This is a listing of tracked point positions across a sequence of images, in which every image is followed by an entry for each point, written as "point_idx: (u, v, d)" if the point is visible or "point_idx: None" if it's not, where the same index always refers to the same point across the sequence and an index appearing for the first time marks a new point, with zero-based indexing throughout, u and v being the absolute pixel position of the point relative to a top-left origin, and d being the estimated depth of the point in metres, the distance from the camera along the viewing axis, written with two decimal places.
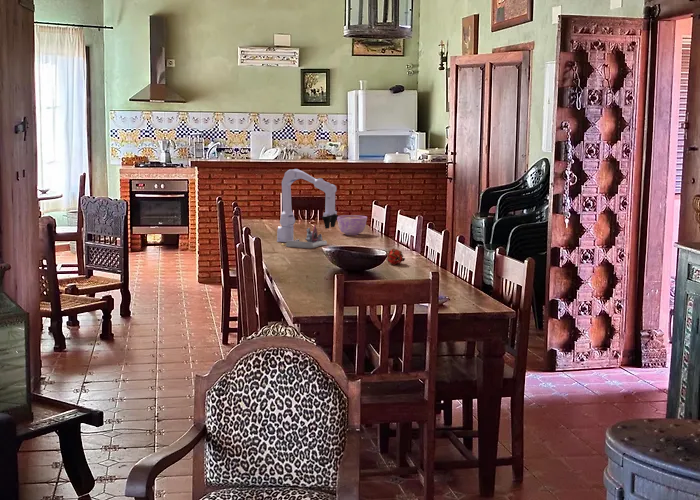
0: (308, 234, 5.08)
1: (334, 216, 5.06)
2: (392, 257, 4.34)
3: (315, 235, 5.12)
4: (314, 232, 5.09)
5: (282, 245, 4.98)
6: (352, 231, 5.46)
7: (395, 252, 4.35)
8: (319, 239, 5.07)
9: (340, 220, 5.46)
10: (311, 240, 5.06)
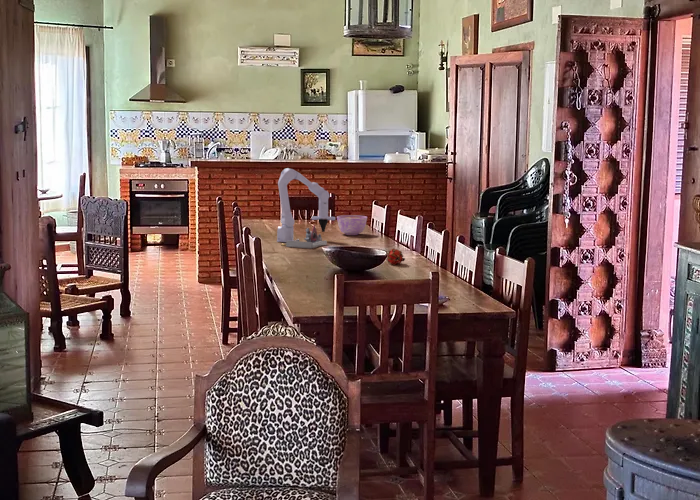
0: (307, 234, 5.09)
1: None
2: (392, 257, 4.34)
3: (314, 235, 5.12)
4: (313, 232, 5.10)
5: (282, 245, 4.98)
6: (352, 231, 5.46)
7: (395, 252, 4.35)
8: (318, 239, 5.07)
9: (340, 220, 5.46)
10: (310, 240, 5.06)
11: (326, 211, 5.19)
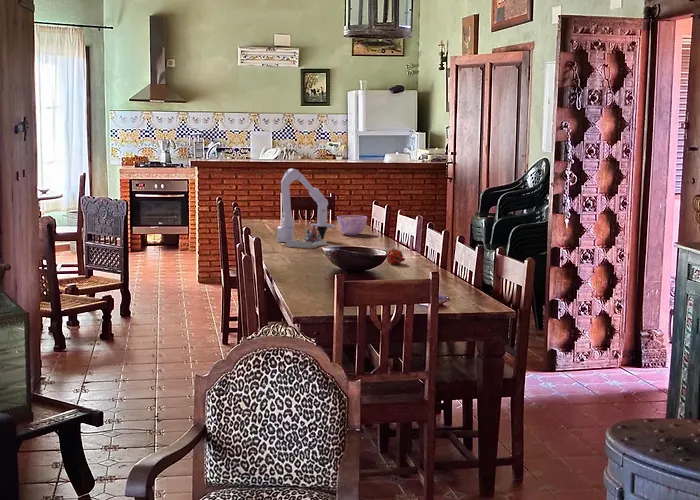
0: (307, 234, 5.09)
1: None
2: (392, 257, 4.34)
3: (314, 235, 5.12)
4: (313, 232, 5.10)
5: (282, 245, 4.98)
6: (352, 231, 5.46)
7: (395, 252, 4.35)
8: (318, 239, 5.08)
9: (340, 220, 5.46)
10: (309, 240, 5.06)
11: (325, 218, 5.18)
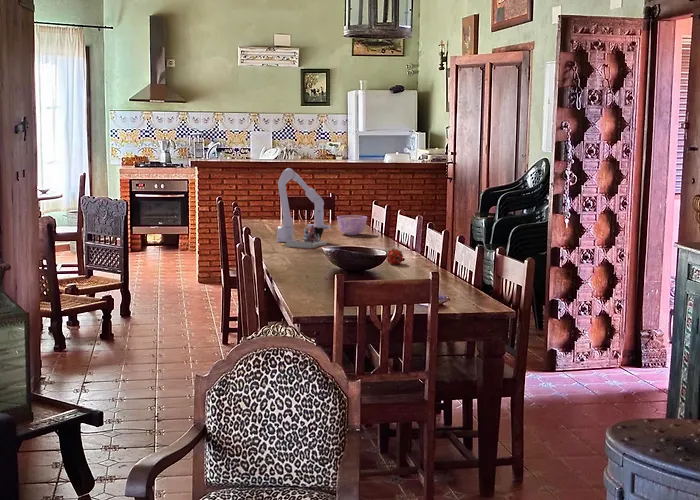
0: (305, 234, 5.08)
1: None
2: (392, 257, 4.34)
3: (313, 235, 5.11)
4: (311, 232, 5.09)
5: (282, 245, 4.98)
6: (352, 231, 5.46)
7: (395, 252, 4.35)
8: (316, 239, 5.06)
9: (340, 220, 5.46)
10: (308, 240, 5.05)
11: (321, 219, 5.13)
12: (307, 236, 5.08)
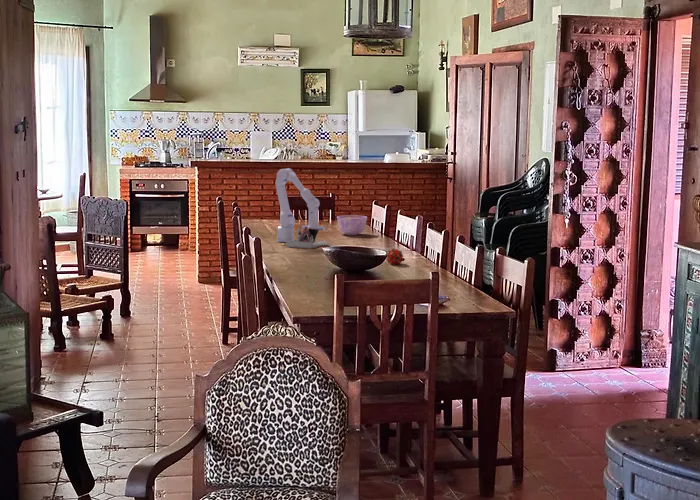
0: (298, 235, 5.01)
1: None
2: (392, 257, 4.34)
3: (307, 236, 5.04)
4: (305, 233, 5.02)
5: (282, 245, 4.98)
6: (352, 231, 5.46)
7: (395, 252, 4.35)
8: (309, 241, 4.99)
9: (340, 220, 5.46)
10: None
11: (315, 221, 5.05)
12: (300, 237, 5.01)
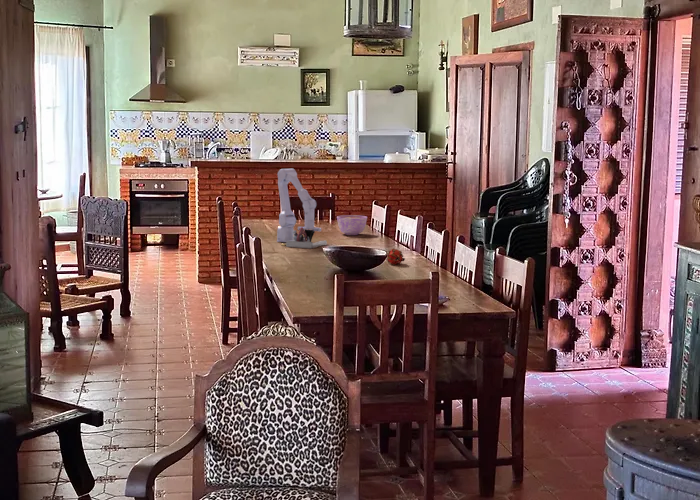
0: (295, 236, 4.96)
1: None
2: (392, 257, 4.34)
3: (303, 238, 4.99)
4: (301, 234, 4.96)
5: (282, 245, 4.98)
6: (352, 231, 5.46)
7: (395, 252, 4.35)
8: None
9: (340, 220, 5.46)
10: None
11: (311, 222, 5.00)
12: (296, 239, 4.96)
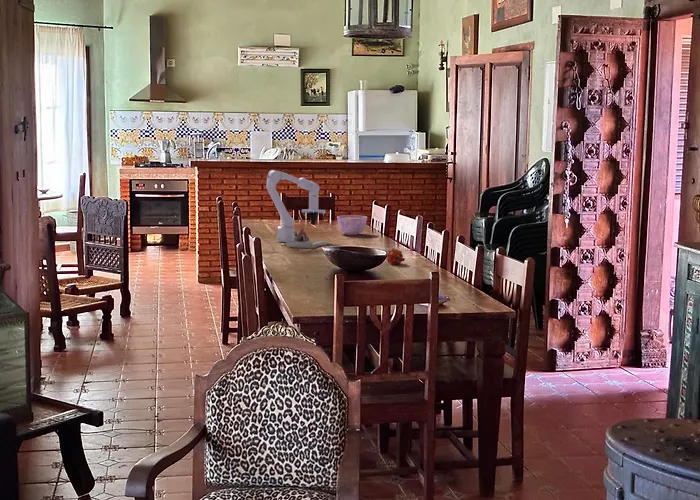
0: (294, 237, 4.96)
1: None
2: (392, 257, 4.34)
3: (303, 238, 4.99)
4: (301, 235, 4.96)
5: (282, 245, 4.98)
6: (352, 231, 5.46)
7: (395, 252, 4.35)
8: None
9: (340, 220, 5.46)
10: None
11: (316, 204, 5.15)
12: (296, 239, 4.96)
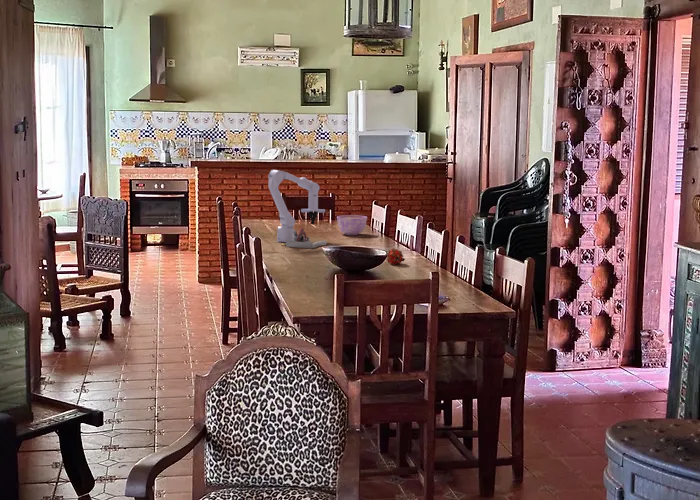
0: (295, 236, 4.96)
1: None
2: (392, 257, 4.34)
3: (303, 238, 4.99)
4: (301, 235, 4.97)
5: (282, 245, 4.98)
6: (352, 231, 5.46)
7: (395, 252, 4.35)
8: None
9: (340, 220, 5.46)
10: None
11: (316, 203, 5.19)
12: (296, 239, 4.96)
